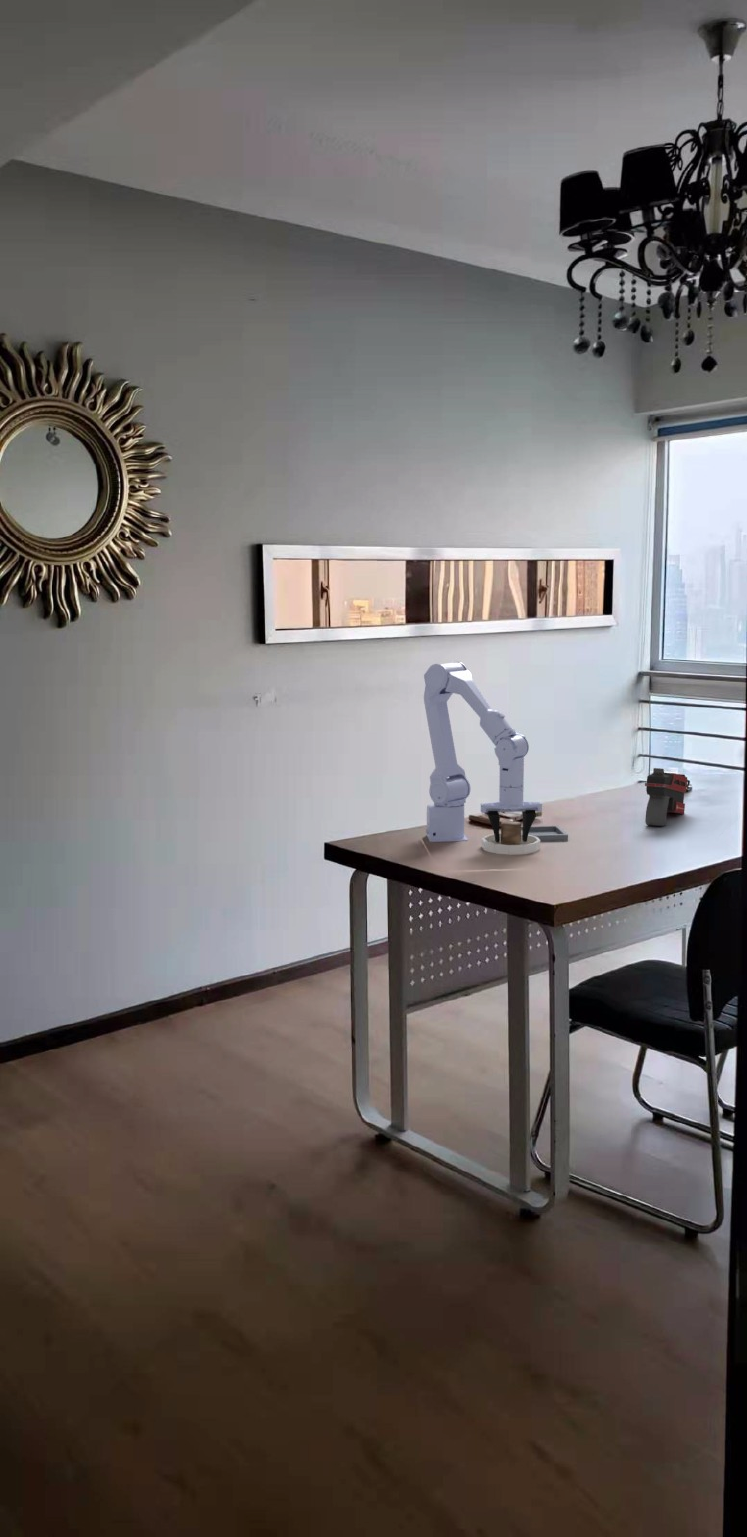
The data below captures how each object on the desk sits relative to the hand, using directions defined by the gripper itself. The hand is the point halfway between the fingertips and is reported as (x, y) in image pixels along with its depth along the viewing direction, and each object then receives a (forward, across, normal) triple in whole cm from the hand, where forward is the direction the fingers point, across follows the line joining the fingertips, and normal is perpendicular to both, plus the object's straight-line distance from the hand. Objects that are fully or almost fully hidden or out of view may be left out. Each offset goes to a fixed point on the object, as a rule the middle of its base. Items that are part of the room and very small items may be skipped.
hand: (510, 841), depth 287 cm
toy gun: (+2, +48, +31) cm, 57 cm away
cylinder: (+2, 0, 0) cm, 2 cm away
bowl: (+2, 0, 0) cm, 2 cm away
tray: (+2, +10, +12) cm, 16 cm away
